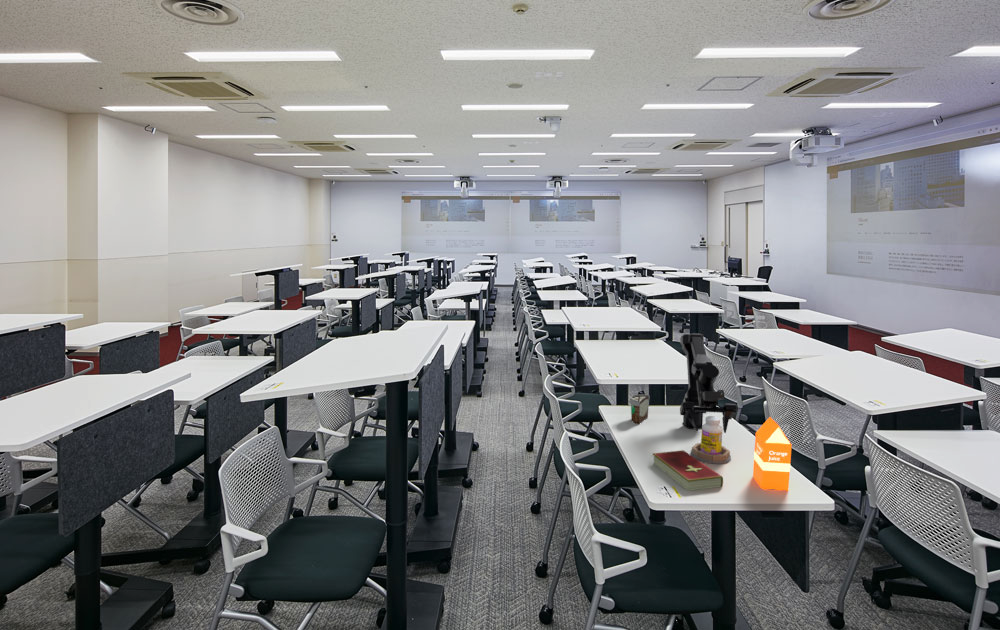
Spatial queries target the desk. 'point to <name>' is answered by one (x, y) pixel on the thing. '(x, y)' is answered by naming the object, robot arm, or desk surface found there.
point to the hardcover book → (687, 470)
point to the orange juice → (772, 457)
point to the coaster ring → (709, 458)
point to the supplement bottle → (711, 436)
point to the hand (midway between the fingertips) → (711, 431)
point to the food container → (639, 407)
